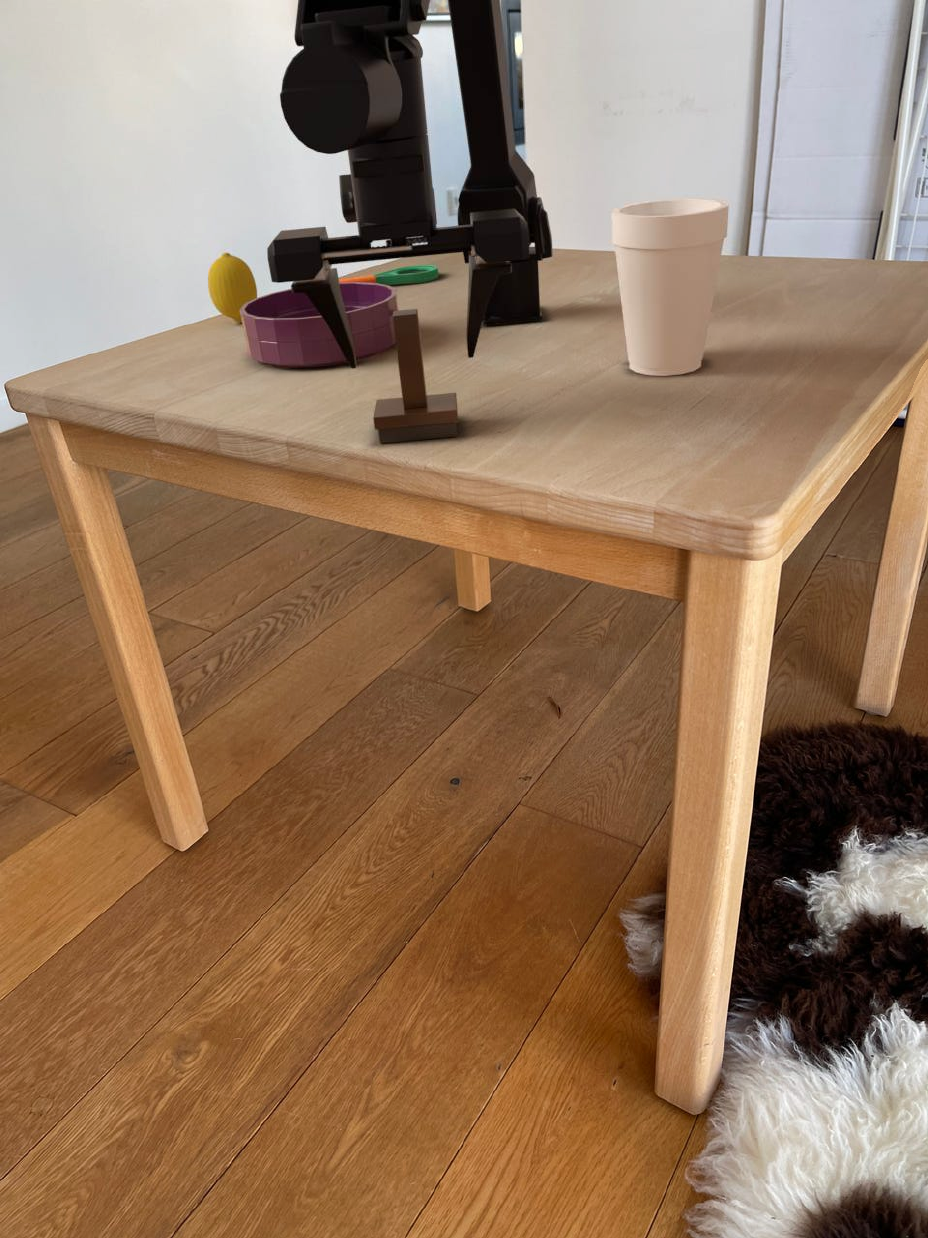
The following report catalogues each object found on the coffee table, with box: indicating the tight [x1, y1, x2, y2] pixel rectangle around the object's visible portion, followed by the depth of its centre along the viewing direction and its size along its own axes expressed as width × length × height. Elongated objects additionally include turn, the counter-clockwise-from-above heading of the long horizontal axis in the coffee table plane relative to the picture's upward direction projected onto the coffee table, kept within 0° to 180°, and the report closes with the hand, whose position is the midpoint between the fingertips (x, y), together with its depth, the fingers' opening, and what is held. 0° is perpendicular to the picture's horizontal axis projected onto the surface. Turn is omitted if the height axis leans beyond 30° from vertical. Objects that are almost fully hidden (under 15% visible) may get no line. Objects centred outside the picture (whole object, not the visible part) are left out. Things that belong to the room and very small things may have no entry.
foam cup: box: [611, 198, 730, 377], centre depth 79 cm, size 10×9×13 cm
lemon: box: [207, 252, 258, 324], centre depth 109 cm, size 6×6×8 cm
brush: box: [373, 308, 459, 444], centre depth 70 cm, size 6×4×9 cm
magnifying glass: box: [339, 264, 439, 286], centre depth 123 cm, size 15×6×2 cm, turn 118°
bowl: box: [240, 282, 400, 369], centre depth 96 cm, size 16×16×5 cm
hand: (412, 361), depth 72 cm, fingers open, 9 cm apart
